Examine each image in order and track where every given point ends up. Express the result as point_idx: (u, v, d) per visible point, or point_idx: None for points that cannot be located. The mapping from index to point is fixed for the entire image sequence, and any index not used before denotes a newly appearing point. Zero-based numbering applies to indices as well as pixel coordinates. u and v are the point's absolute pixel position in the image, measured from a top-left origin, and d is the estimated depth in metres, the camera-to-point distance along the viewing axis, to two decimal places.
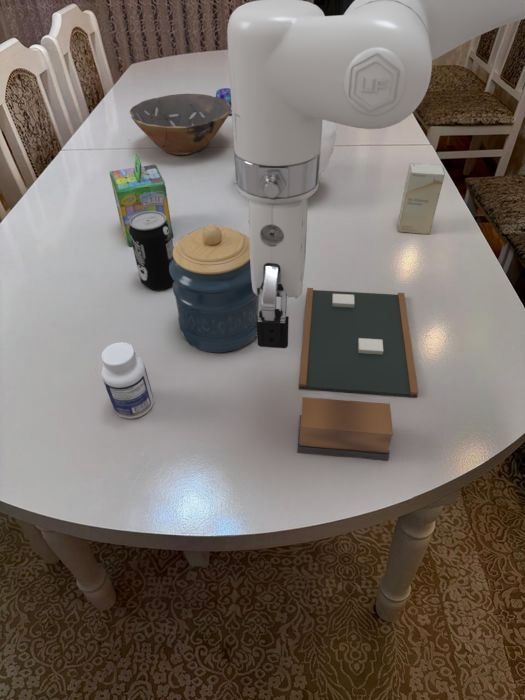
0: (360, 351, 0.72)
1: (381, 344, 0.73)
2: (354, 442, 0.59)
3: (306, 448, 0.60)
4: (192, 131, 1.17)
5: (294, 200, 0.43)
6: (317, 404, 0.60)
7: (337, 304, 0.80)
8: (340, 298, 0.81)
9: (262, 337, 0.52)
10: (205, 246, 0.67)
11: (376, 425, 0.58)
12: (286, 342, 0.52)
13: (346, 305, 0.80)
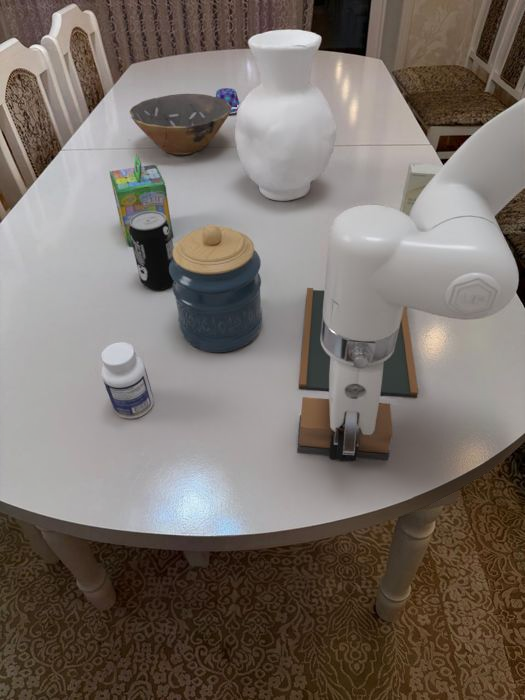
0: None
1: None
2: None
3: (306, 448, 0.60)
4: (192, 131, 1.17)
5: (377, 363, 0.48)
6: (317, 404, 0.60)
7: None
8: None
9: (334, 453, 0.59)
10: (205, 245, 0.67)
11: (376, 425, 0.58)
12: (355, 457, 0.59)
13: None
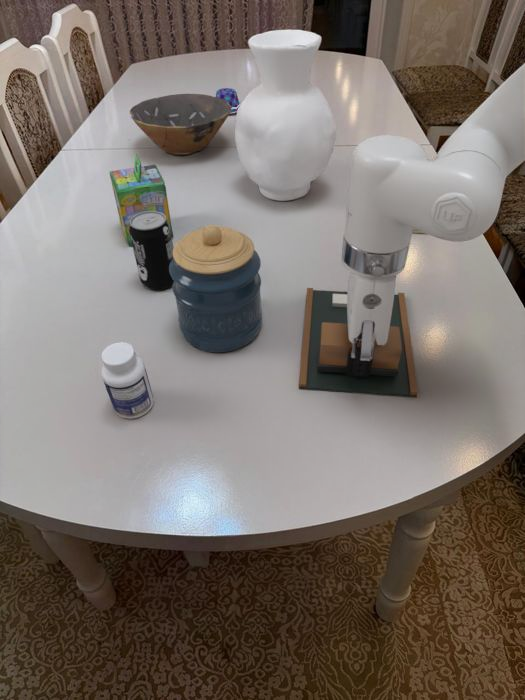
0: None
1: None
2: None
3: (325, 366, 0.69)
4: (192, 131, 1.17)
5: (390, 275, 0.56)
6: (335, 327, 0.68)
7: (337, 304, 0.80)
8: (340, 298, 0.81)
9: (350, 368, 0.67)
10: (205, 245, 0.67)
11: (388, 342, 0.66)
12: (369, 372, 0.68)
13: (346, 305, 0.80)
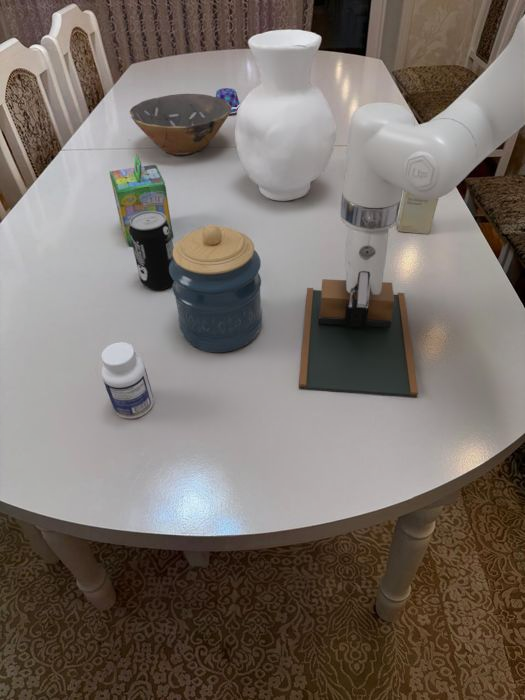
0: None
1: None
2: None
3: (325, 318, 0.76)
4: (192, 131, 1.17)
5: (383, 229, 0.64)
6: (334, 283, 0.76)
7: None
8: None
9: (348, 320, 0.75)
10: (205, 245, 0.67)
11: (381, 295, 0.73)
12: (365, 323, 0.75)
13: None
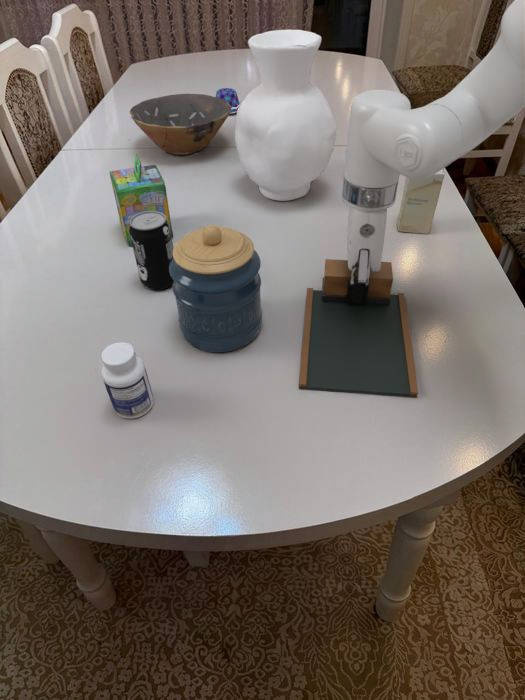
0: None
1: None
2: None
3: (328, 296, 0.81)
4: (192, 131, 1.17)
5: (382, 208, 0.68)
6: (337, 263, 0.80)
7: None
8: None
9: (350, 297, 0.79)
10: (205, 245, 0.67)
11: (381, 274, 0.78)
12: (365, 300, 0.79)
13: None
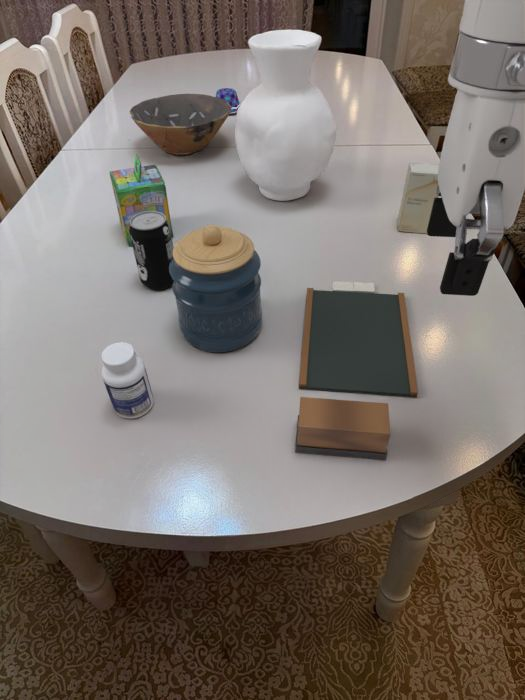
0: None
1: (373, 286, 0.84)
2: (352, 442, 0.59)
3: (304, 448, 0.60)
4: (192, 131, 1.17)
5: None
6: (315, 403, 0.60)
7: None
8: (340, 285, 0.84)
9: (449, 281, 0.43)
10: (205, 245, 0.67)
11: (374, 424, 0.58)
12: (478, 288, 0.43)
13: None
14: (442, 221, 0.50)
